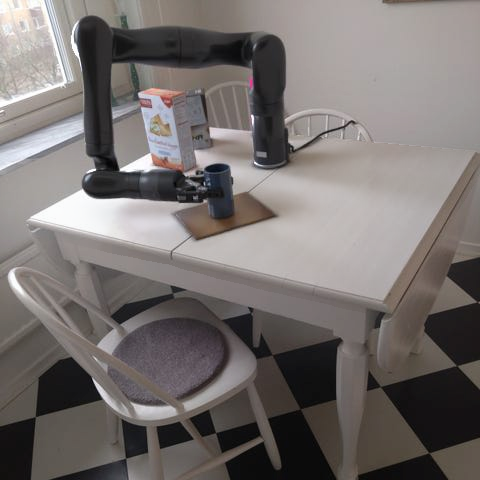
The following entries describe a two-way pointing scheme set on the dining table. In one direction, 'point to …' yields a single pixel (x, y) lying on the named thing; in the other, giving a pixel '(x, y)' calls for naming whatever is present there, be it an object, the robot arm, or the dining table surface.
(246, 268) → the dining table surface
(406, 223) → the dining table surface
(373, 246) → the dining table surface
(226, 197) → the pen holder
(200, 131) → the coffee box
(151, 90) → the cracker box
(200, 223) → the desk mat
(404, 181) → the dining table surface
